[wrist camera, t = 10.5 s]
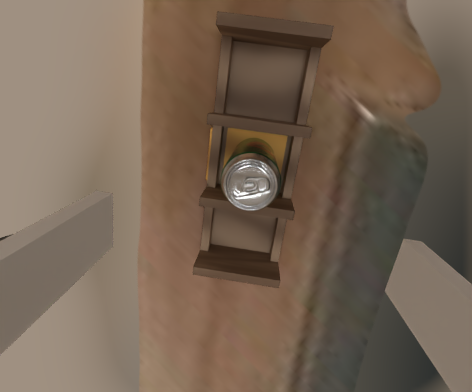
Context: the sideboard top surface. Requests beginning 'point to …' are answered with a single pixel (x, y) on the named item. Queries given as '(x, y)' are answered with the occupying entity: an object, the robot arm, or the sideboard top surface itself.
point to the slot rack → (256, 126)
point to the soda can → (251, 175)
